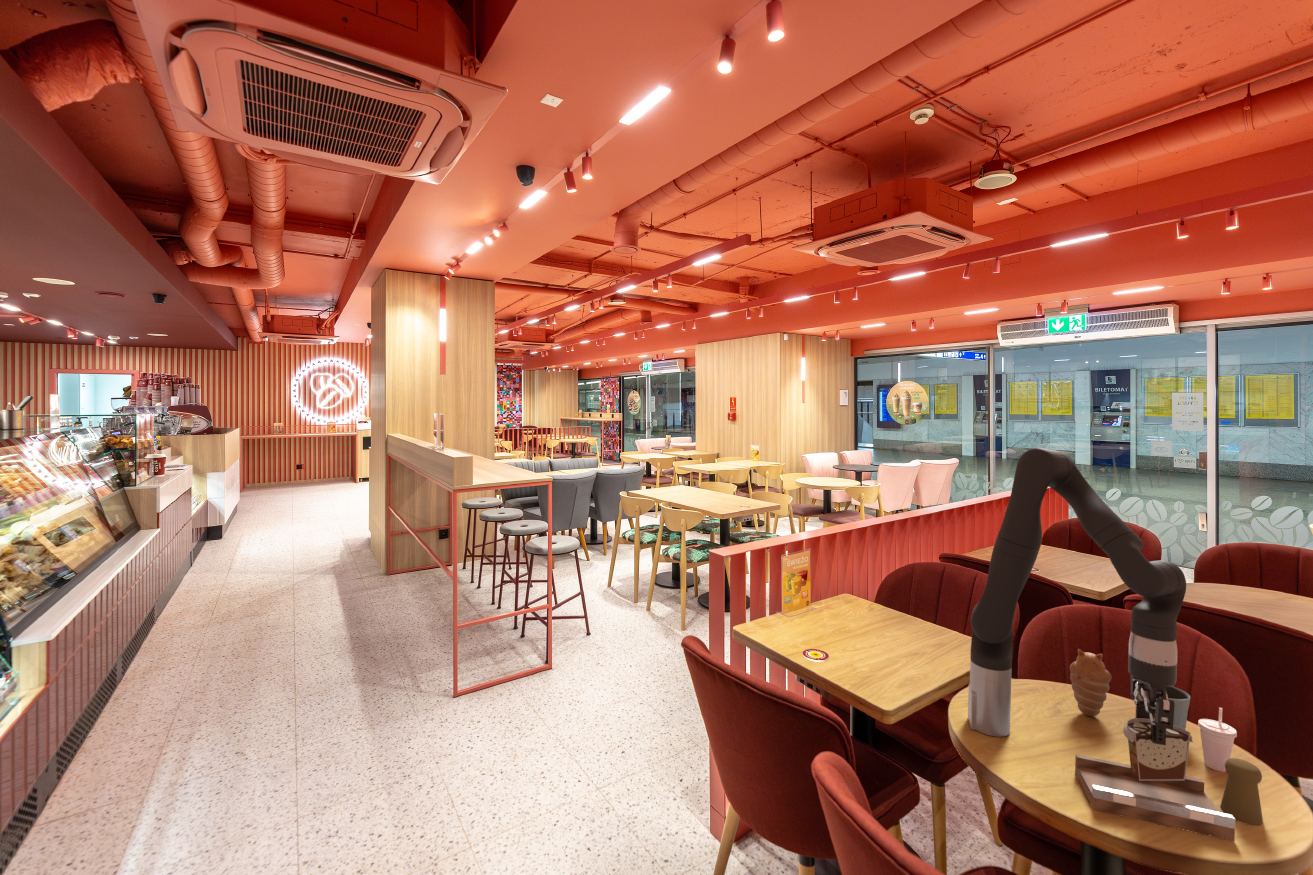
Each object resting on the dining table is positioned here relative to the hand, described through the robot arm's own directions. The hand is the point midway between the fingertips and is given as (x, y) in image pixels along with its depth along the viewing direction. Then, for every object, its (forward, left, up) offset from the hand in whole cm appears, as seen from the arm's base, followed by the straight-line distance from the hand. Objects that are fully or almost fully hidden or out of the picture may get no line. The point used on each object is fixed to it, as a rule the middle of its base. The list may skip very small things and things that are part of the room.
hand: (1149, 733), depth 114 cm
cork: (+16, +4, -16) cm, 23 cm away
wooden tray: (0, 0, -15) cm, 15 cm away
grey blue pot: (+14, +33, -16) cm, 39 cm away
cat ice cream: (0, +37, -16) cm, 40 cm away
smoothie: (+20, +22, -16) cm, 33 cm away
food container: (0, 0, -8) cm, 8 cm away
